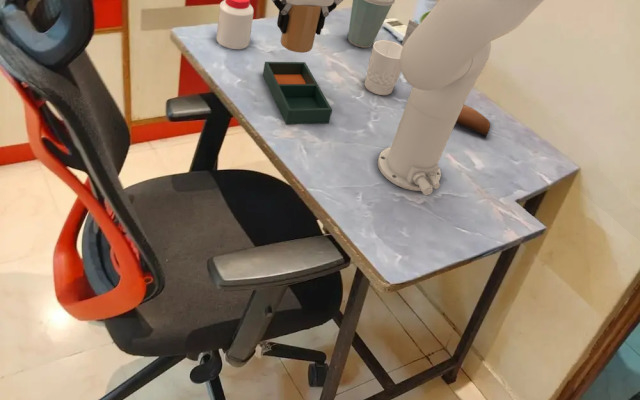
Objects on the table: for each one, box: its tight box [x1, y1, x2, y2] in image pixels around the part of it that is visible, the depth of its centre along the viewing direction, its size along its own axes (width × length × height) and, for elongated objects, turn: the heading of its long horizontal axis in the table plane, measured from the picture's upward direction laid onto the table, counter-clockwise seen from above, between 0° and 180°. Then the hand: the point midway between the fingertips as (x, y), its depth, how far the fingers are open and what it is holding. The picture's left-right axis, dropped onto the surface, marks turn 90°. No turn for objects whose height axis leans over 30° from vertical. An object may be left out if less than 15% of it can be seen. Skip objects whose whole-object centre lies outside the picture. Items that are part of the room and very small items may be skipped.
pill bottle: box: [216, 0, 255, 50], centre depth 136 cm, size 8×8×11 cm
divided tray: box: [262, 61, 333, 126], centre depth 126 cm, size 9×18×4 cm, turn 20°
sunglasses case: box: [455, 104, 491, 137], centre depth 133 cm, size 18×7×7 cm
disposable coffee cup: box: [347, 0, 396, 49], centre depth 148 cm, size 11×11×15 cm
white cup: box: [364, 39, 403, 96], centre depth 134 cm, size 8×8×10 cm
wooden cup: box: [280, 5, 321, 54], centre depth 120 cm, size 7×7×10 cm
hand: (299, 30), depth 121 cm, fingers closed on wooden cup, 6 cm apart
